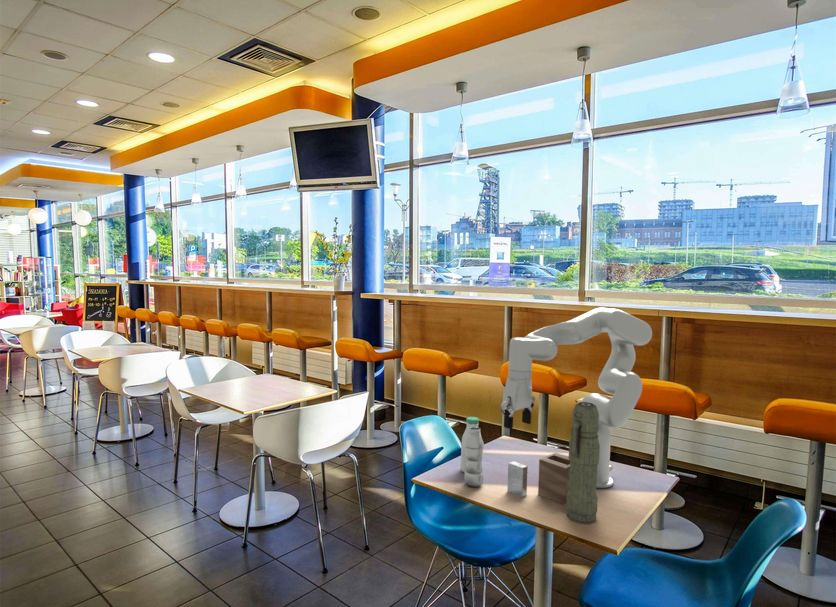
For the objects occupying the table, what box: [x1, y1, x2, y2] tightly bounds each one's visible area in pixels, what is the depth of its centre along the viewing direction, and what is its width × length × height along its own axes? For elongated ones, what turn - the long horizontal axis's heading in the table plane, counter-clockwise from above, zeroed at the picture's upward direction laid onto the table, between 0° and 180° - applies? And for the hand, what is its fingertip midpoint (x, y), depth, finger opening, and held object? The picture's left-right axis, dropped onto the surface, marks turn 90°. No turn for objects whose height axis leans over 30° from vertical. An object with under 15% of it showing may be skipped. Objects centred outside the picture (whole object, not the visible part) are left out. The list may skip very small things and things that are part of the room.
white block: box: [507, 460, 528, 498], centre depth 171 cm, size 2×6×10 cm, turn 43°
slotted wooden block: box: [537, 452, 570, 505], centre depth 170 cm, size 10×10×12 cm
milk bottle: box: [460, 416, 482, 474], centre depth 190 cm, size 8×8×20 cm
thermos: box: [566, 401, 600, 525], centre depth 155 cm, size 9×12×35 cm
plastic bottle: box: [463, 426, 485, 487], centre depth 177 cm, size 6×7×20 cm
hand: (517, 425), depth 170 cm, fingers open, 9 cm apart
